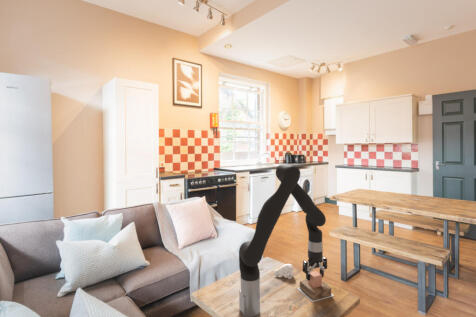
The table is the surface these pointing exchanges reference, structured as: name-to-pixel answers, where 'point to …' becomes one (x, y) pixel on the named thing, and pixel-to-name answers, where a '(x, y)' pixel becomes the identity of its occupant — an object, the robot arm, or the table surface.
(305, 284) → the walnut plinth
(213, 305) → the table surface
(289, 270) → the white speckled wedge
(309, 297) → the grey flat square slab
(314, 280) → the terracotta block
